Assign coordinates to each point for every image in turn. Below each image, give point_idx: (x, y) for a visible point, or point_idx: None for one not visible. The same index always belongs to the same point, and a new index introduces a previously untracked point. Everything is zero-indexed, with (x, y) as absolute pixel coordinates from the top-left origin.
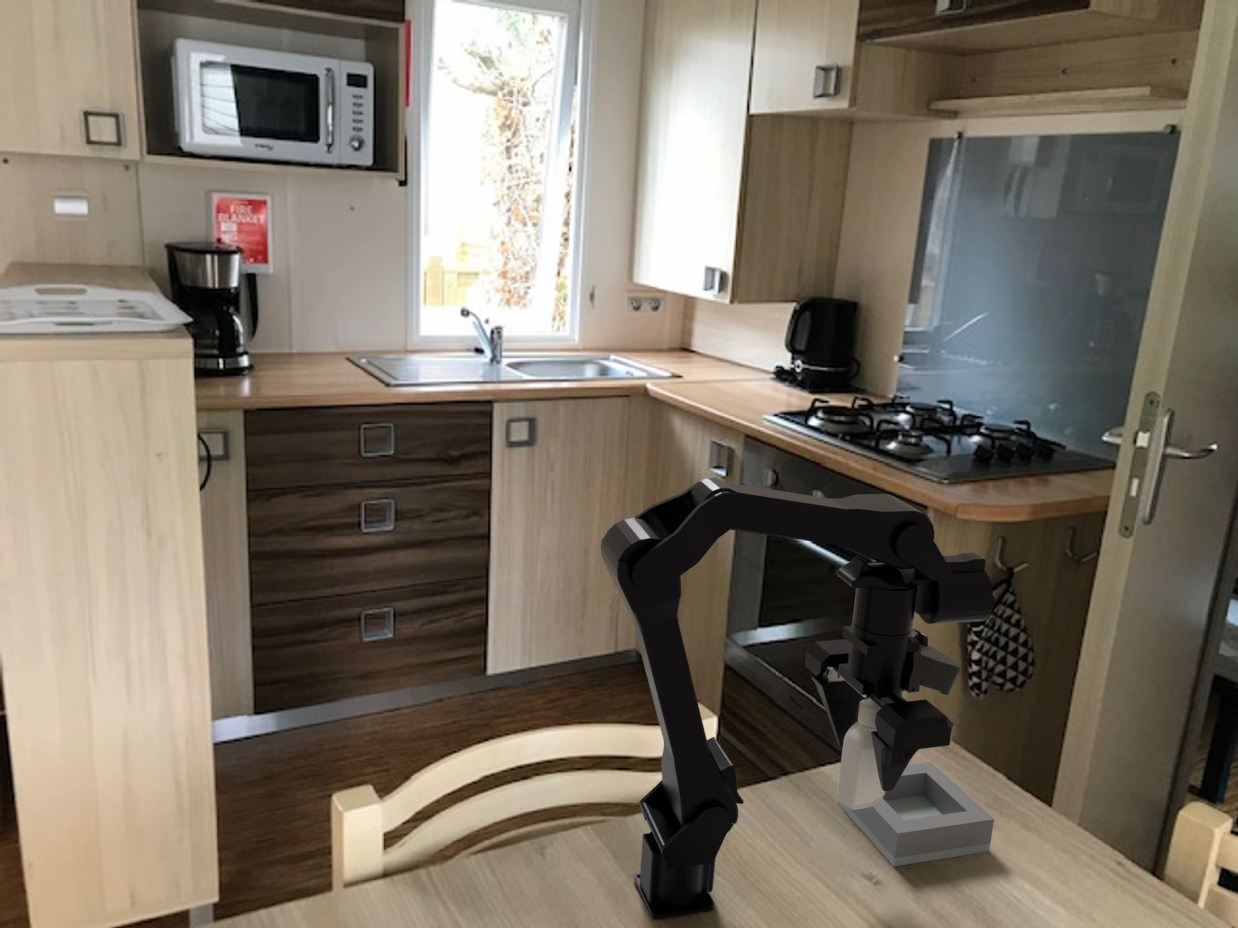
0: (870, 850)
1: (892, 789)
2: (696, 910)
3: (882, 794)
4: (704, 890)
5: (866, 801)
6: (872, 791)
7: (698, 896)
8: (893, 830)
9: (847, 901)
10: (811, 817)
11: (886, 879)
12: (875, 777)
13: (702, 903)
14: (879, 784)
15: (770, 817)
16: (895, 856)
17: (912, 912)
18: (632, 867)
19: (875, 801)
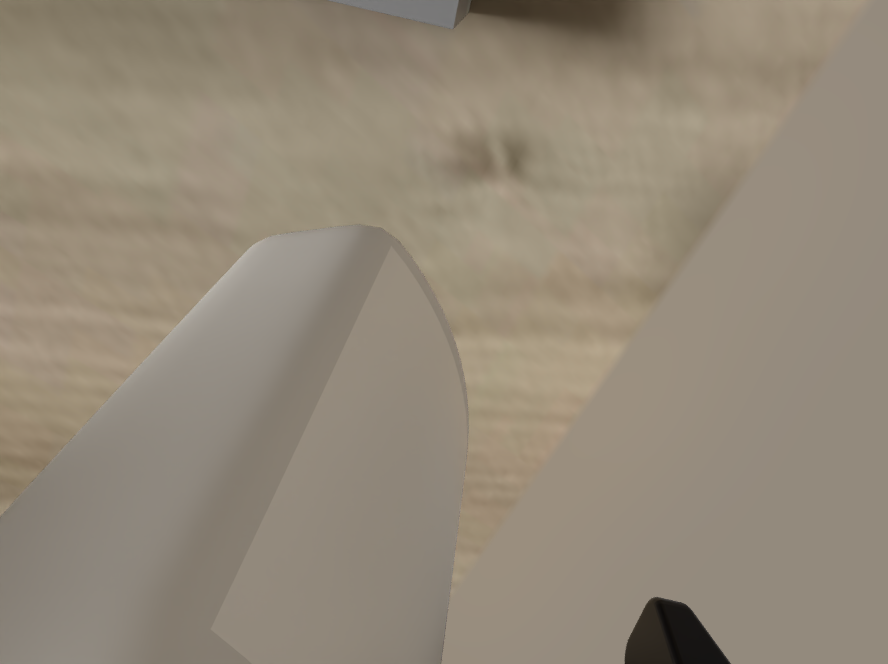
0: (338, 23)
1: (684, 607)
2: None
3: (433, 311)
4: None
5: (465, 466)
6: (459, 472)
7: None
8: (415, 20)
9: (543, 322)
10: (65, 101)
11: (519, 106)
12: (449, 544)
13: None
14: (444, 432)
15: (42, 249)
16: (465, 10)
17: (716, 161)
18: None
19: (462, 380)
